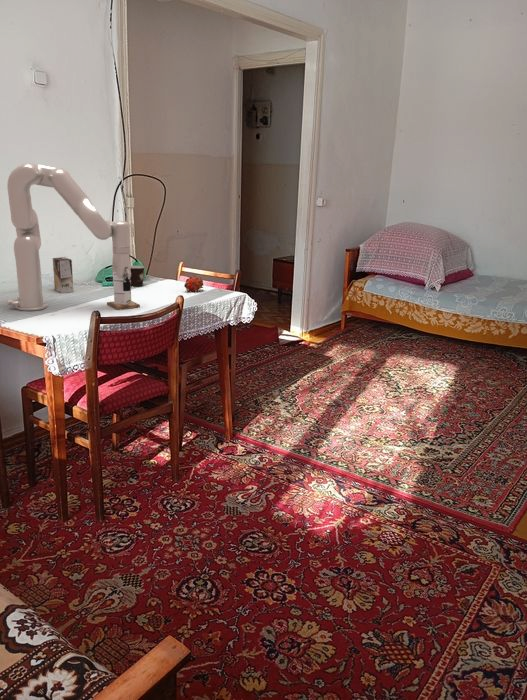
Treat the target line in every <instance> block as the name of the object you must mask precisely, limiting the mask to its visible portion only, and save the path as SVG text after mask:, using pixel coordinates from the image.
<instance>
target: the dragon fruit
mask: <svg viewBox="0 0 527 700" xmlns="http://www.w3.org/2000/svg"><path fill="white" fill-rule="evenodd" d="M183 287H184V288H185V290H186V292H190V291H191V292H195V291H196V292H199V291H200V289H202V288H204V279H202V277H200V276H198V277H197V276H196V275H194V277H193V276H190V277H189V278H186V279H185V283H184V286H183ZM198 290H199V291H198Z"/></svg>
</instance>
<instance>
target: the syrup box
mask: <svg viewBox="0 0 527 700" xmlns="http://www.w3.org/2000/svg"><path fill="white" fill-rule="evenodd" d="M124 275H125V273H124ZM125 279H126V278H125ZM123 282H124V280H123V277H118V276H117V272H113V273H112V283H113V298H114V299H113V302H114V303H115V304H120V305H127V304H129V303H131V301H132V286H131V282H130V288H131V290H130V291H123Z"/></svg>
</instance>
